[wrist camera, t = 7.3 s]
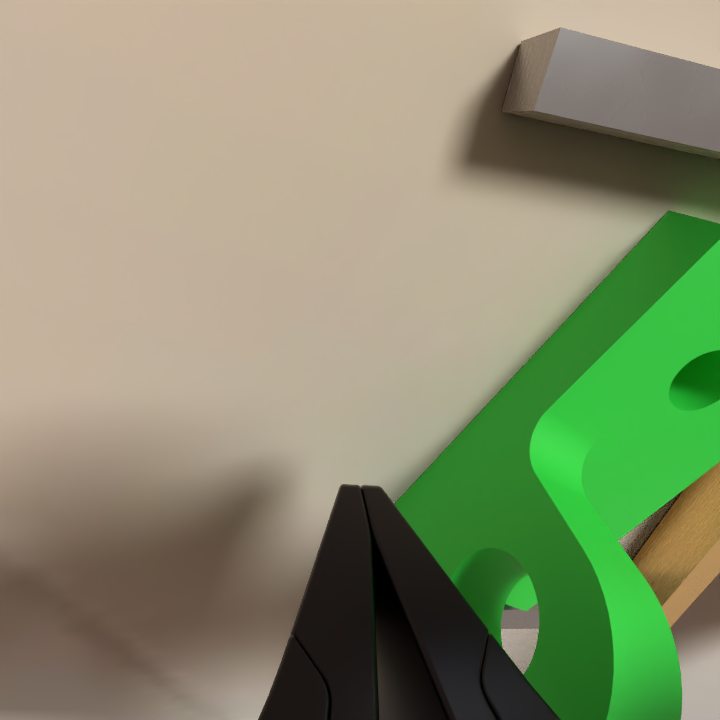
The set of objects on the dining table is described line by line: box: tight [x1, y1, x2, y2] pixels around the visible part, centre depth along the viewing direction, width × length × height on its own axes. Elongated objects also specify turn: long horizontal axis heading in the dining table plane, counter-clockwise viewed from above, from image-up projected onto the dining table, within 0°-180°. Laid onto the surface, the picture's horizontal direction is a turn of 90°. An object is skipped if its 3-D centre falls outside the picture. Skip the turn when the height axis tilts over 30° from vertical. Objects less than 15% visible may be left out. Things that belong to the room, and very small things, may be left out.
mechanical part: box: [394, 211, 720, 720], centre depth 10 cm, size 12×6×8 cm, turn 146°
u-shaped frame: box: [501, 28, 720, 629], centre depth 13 cm, size 12×17×2 cm
